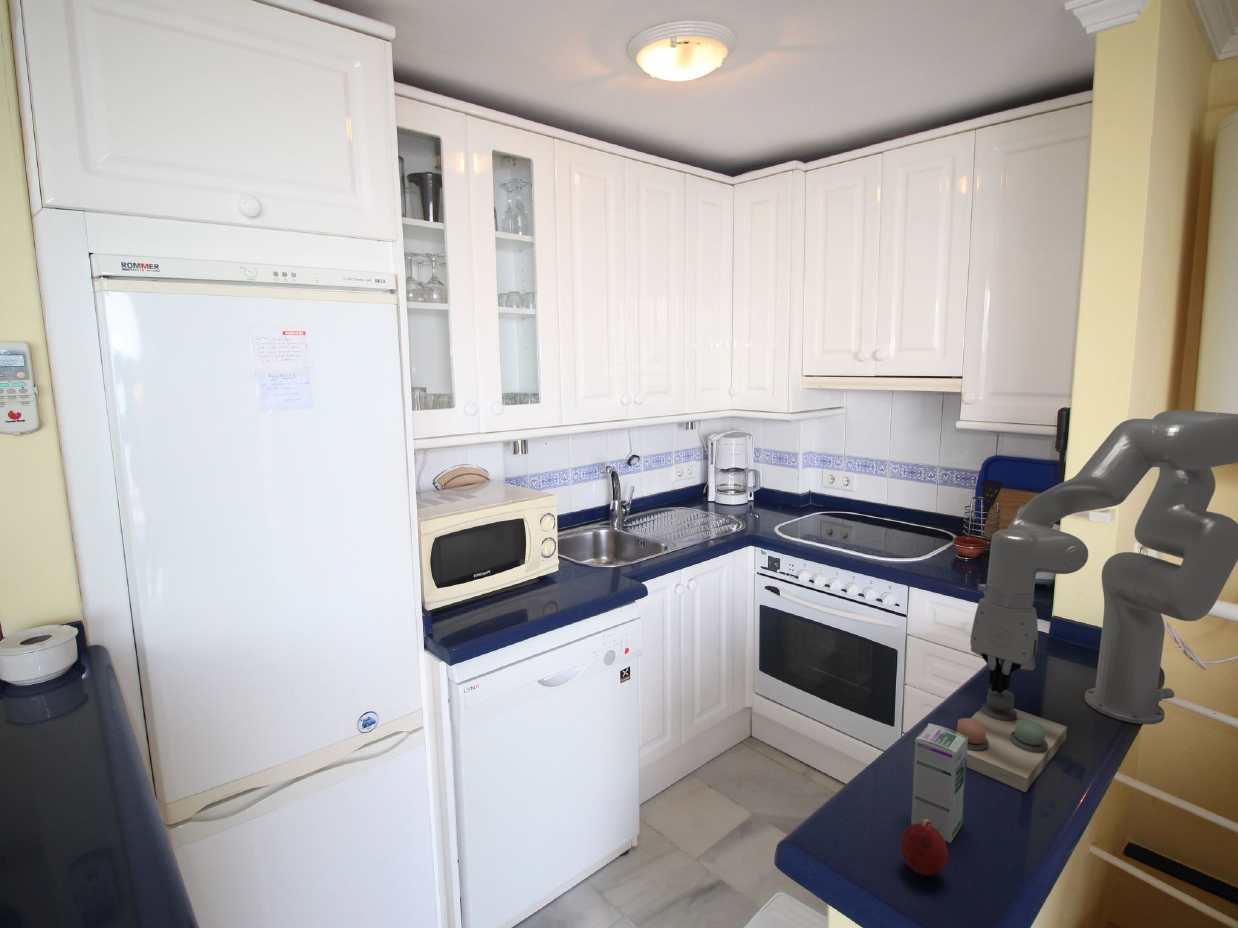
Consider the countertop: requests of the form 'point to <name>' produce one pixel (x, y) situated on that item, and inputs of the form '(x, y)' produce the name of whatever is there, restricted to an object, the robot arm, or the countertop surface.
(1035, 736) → the green button
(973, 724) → the terracotta button
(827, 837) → the countertop surface
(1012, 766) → the button panel
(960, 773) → the syrup box
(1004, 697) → the charcoal button
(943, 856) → the onion
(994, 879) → the countertop surface
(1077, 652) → the countertop surface
